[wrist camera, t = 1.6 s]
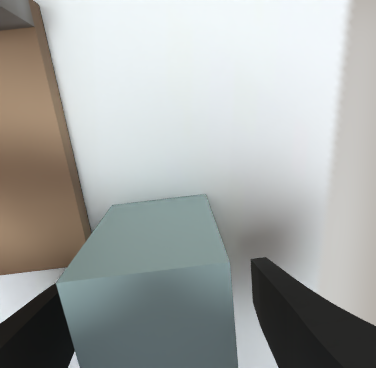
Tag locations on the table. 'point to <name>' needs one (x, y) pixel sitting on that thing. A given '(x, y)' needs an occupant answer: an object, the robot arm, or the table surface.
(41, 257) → the shelf board
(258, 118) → the table surface
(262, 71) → the table surface
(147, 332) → the carton
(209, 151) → the table surface
